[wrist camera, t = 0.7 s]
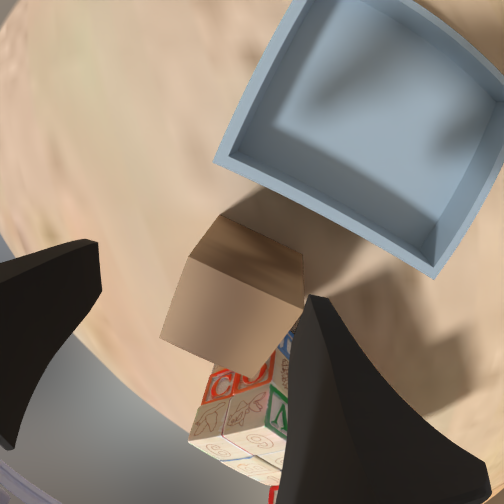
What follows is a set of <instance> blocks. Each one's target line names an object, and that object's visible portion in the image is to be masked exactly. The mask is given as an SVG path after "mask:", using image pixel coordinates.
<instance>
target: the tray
mask: <svg viewBox="0 0 504 504" xmlns="http://www.w3.org/2000/svg"><path fill="white" fill-rule="evenodd" d="M213 163H215V164H217V165H219V166H222V167H224V168H226V169H228V170H230V171H233V172H235V173H237V174H239V175H241V176H243V177H246V178H248V179H250V180H252V181H254V182H256V183H258V184H260V185H262V186H264V187H267V188H269V189H271V190H273V191H275V192H277V193H279V194H281V195H283V196H285V197H287V198H289V199H291V200H293V201H295V202H297V203H299V204H301V205H303V206H305V207H307V208H309V209H311V210H312V211H314V212H316V213H318V214H320V215H322V216H324V217H326V218H328V219H330V220H331V221H333V222H335V223H337V224H339V225H341V226H343V227H344V228H346V229H348V230H350V231H352V232H354V233H355V234H357V235H359V236H361V237H363V238H364V239H366V240H368V241H370V242H371V243H373V244H375V245H377V246H378V247H380V248H382V249H384V250H385V251H387V252H389V253H390V254H392V255H394V256H396V257H397V258H399V259H401V260H402V261H404V262H406V263H407V264H409V265H411V266H412V267H414V268H416V269H417V270H419V271H420V272H422V273H424V274H425V275H427V276H428V277H430V278H432V279H433V280H434V279H435V278H436V277H437V275H438V274H439V273H440V271H441V270H442V268H443V267H444V265H445V264H446V263H447V261H448V260H449V258H450V257H451V255H452V254H453V252H454V251H455V249H456V248H457V246H458V245H459V243H460V242H461V240H462V238H463V237H464V235H465V234H466V232H467V230H468V229H469V227H470V225H471V224H472V222H473V220H474V219H475V217H476V215H477V214H478V212H479V210H480V208H481V206H482V205H483V203H484V201H485V199H486V197H487V195H488V194H489V192H490V190H491V188H492V186H493V184H494V182H495V180H496V178H497V176H498V174H499V172H500V170H501V167H502V165H503V163H504V76H503V74H502V73H501V72H500V71H499V70H498V69H497V68H496V67H495V66H494V65H493V64H492V63H491V62H490V61H489V60H488V59H487V58H486V57H485V56H484V55H482V54H481V53H480V52H479V51H478V50H477V49H476V48H475V47H474V46H473V45H471V44H470V43H469V42H468V41H467V40H466V39H465V38H463V37H462V36H461V35H460V34H459V33H457V32H456V31H455V30H454V29H452V28H451V27H450V26H449V25H447V24H446V23H445V22H443V21H442V20H441V19H439V18H438V17H436V16H435V15H434V14H432V13H431V12H429V11H428V10H427V9H425V8H424V7H422V6H421V5H419V4H418V3H416V2H415V1H413V0H293V1H292V3H291V4H290V6H289V8H288V9H287V11H286V13H285V15H284V16H283V18H282V20H281V22H280V24H279V25H278V27H277V29H276V31H275V33H274V34H273V36H272V38H271V40H270V42H269V44H268V46H267V48H266V49H265V51H264V53H263V55H262V57H261V59H260V61H259V63H258V65H257V67H256V69H255V71H254V73H253V75H252V77H251V79H250V81H249V83H248V85H247V87H246V89H245V91H244V93H243V95H242V97H241V99H240V102H239V104H238V106H237V108H236V110H235V112H234V114H233V117H232V119H231V121H230V123H229V125H228V128H227V130H226V132H225V134H224V136H223V139H222V141H221V143H220V146H219V148H218V150H217V152H216V155H215V157H214V159H213Z"/></svg>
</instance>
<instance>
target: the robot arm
mask: <svg viewBox="0 0 504 504" xmlns="http://www.w3.org/2000/svg"><path fill="white" fill-rule="evenodd" d="M101 292H102V284H101V274H100V263H99V249H98V242H95V241H91V240H88V239H80V240H75V241H71V242H67V243H64V244H60V245H57V246H54V247H51V248H47V249H44V250H41V251H38V252H35V253H32V254H29V255H25V256H22V257H19V258H16V259H13V260H9V261H6V262H2V263H0V445H1V446H2V447H3V448H4V449H5V450H13V449H14V448H15V443H16V439H17V436H18V432H19V429H20V425H21V422H22V419H23V416H24V413H25V411H26V408H27V406H28V403H29V401H30V398H31V396H32V394H33V392H34V390H35V388H36V386H37V384H38V382H39V380H40V378H41V376H42V374H43V373H44V371H45V369H46V368H47V365H48V364H49V362H50V361H51V359H52V358H53V356H54V355H55V354H56V352H57V351H58V350H59V349H60V347H61V346H62V345H63V344H64V342H65V341H66V340H67V339H68V337H69V336H70V335H71V334H72V332H73V331H74V330H75V329H76V328H77V326H78V325H79V324H80V323H81V321H82V320H83V319H84V318H85V317H86V315H87V314H88V313H89V312H90V310H91V308H92V307H93V305H94V304H95V302H96V301H97V299H98V297H99V296H100V294H101ZM0 484H2V485H3V486H4V487H5V488H6V489H8V490H9V491H10V492H11V493H13V494H14V495H15V496H16V497H18V498H19V499H20V500H22V501H23V502H24V503H26V504H63V503H61V502H59V501H58V500H56V499H55V498H53V497H51V496H50V495H48V494H47V493H45V492H44V491H42V490H41V489H39V488H38V487H36V486H35V485H33V484H32V483H31V482H29V481H28V480H26V479H25V478H23V477H22V476H21V475H20V474H18V473H17V472H16V471H14V470H13V469H12V468H11V467H10V466H8V465H7V464H6V463H4V462H3V461H2V460H1V459H0ZM491 494H492V490H491V485H490V480H489V476H488V472H487V468H486V464H485V462H483V461H482V460H480V459H478V458H477V457H475V456H474V455H472V454H470V453H469V452H467V451H466V450H464V449H462V448H461V447H459V446H458V445H456V444H455V443H453V442H452V441H450V440H449V439H448V438H447V437H445V436H444V435H443V434H441V433H440V432H439V431H437V430H436V429H435V428H434V427H432V426H431V425H430V424H429V423H428V422H427V421H425V420H424V419H423V418H422V417H421V416H420V415H419V414H418V413H417V412H416V411H414V410H413V409H412V408H411V407H410V406H409V405H408V404H407V403H406V402H405V401H404V400H403V399H402V398H401V397H400V396H399V395H398V394H397V393H396V391H395V390H394V389H393V388H392V387H391V386H390V385H389V384H388V383H387V381H386V380H385V379H384V378H383V377H382V376H381V374H380V373H379V372H378V371H377V369H376V368H375V367H374V366H373V364H372V363H371V362H370V360H369V359H368V358H367V356H366V355H365V354H364V352H363V351H362V349H361V348H360V347H359V345H358V344H357V342H356V341H355V339H354V338H353V336H352V335H351V333H350V332H349V330H348V329H347V327H346V326H345V324H344V323H343V321H342V319H341V318H340V316H339V315H338V313H337V312H336V310H335V308H334V307H333V305H332V304H331V302H330V301H329V299H328V298H325V297H320V296H315V295H311V294H309V295H308V298H307V301H306V304H305V307H304V309H303V312H302V315H301V318H300V321H299V323H298V326H297V329H296V331H295V334H294V337H293V339H292V342H291V350H290V357H289V366H288V421H287V440H286V447H285V454H284V460H283V467H282V472H281V478H280V483H279V489H278V493H277V498H276V503H275V504H482V503H483V502H484V501H486V500H487V499H488V498H489V497H490V496H491ZM9 501H10V496H9V495H8V494H7V493H6V491H5V490H4V489H3V488H2V487H0V504H8V503H9Z"/></svg>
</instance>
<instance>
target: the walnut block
mask: <svg viewBox="0 0 504 504" xmlns="http://www.w3.org/2000/svg"><path fill="white" fill-rule="evenodd" d="M303 309H304V279H303V255H302V254H300V253H298V252H296V251H294V250H292V249H290V248H288V247H286V246H284V245H282V244H280V243H278V242H276V241H274V240H272V239H270V238H268V237H266V236H263V235H261V234H259V233H257V232H255V231H253V230H251V229H249V228H247V227H245V226H243V225H241V224H238V223H236V222H234V221H232V220H230V219H228V218H226V217H224V216H222V215H219V216H218V217H217V219H216V220H215V221H214V223H213V224H212V225H211V227H210V228H209V229H208V231H207V232H206V233H205V235H204V236H203V237H202V239H201V240H200V241H199V243H198V244H197V245H196V247H195V248H194V249H193V251H192V252H191V254H190V255H189V256H188V259H187V261H186V264H185V267H184V269H183V272H182V275H181V277H180V280H179V283H178V286H177V288H176V291H175V294H174V297H173V299H172V302H171V305H170V308H169V311H168V313H167V316H166V319H165V322H164V325H163V328H162V331H161V334H160V337H159V338H161V339H163V340H165V341H167V342H169V343H171V344H173V345H175V346H177V347H179V348H181V349H183V350H185V351H188V352H190V353H192V354H194V355H196V356H198V357H201V358H203V359H205V360H207V361H210V362H212V363H214V364H217V365H219V366H221V367H224V368H226V369H229V370H231V371H233V372H236V373H238V374H241V375H243V376H246V377H249V378H251V379H253V377H254V376H255V375H256V374H257V372H258V371H259V370H260V369H261V367H262V366H263V365H264V363H265V362H266V361H267V360H268V358H269V357H270V356H271V354H272V353H273V352H274V350H275V349H276V348H277V347H278V345H279V344H280V343H281V341H282V340H283V339H284V337H285V336H286V335H287V333H288V332H289V330H290V329H291V328H292V326H293V325H294V324H295V322H296V321H297V320H298V318H299V317H300V315H301V314H302V312H303Z"/></svg>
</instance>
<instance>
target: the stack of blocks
mask: <svg viewBox="0 0 504 504" xmlns="http://www.w3.org/2000/svg"><path fill="white" fill-rule="evenodd" d="M293 337H294V334H293V333H292V332H291V331H290V330H289V332H288V333H287V335H286V336H285V337H284V339H283V340H282V341H281V343H280V344H279V345H278V347H277V348H276V349H275V350H274V352H273V353H272V354H271V356H270V357H269V358H268V360H267V361H266V362H265V363H264V365H263V366H262V367H261V369H260V370H259V371H258V372H257V374H256V375H255V376H254V377H253V379H251V378H249V377H246V376H243V375H241V374H238V373H236V372H233V371H231V370H229V369H226V368H224V367H221V366H219V365H217V364H214V367H213V370H212V374H211V375H210V377H209V380H208V383H207V386H206V390H205V393H204V396H203V399H202V403H201V406H200V407H199V408H198V410H197V414H196V417H195V420H194V423H193V426H192V429H191V432H190V435H189V438H188V443H190V444H191V445H194V446H195V447H197V448H198V449H200V450H202V451H203V452H205V453H207V454H208V455H210V456H212V457H213V458H215V459H218V460H220V462H221V463H223V464H225V465H227V466H229V467H231V468H233V469H234V470H236V471H238V472H240V473H242V474H244V475H247V476H248V477H250V478H252V479H254V480H257V481H259V482H261V483H263V484H266V485H271V487H270V491H269V500H268V504H275V503H276V498H277V493H278V489H279V483H280V478H281V472H282V467H283V460H284V454H285V447H286V440H287V421H288V366H289V357H290V350H291V342H292V339H293Z"/></svg>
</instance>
